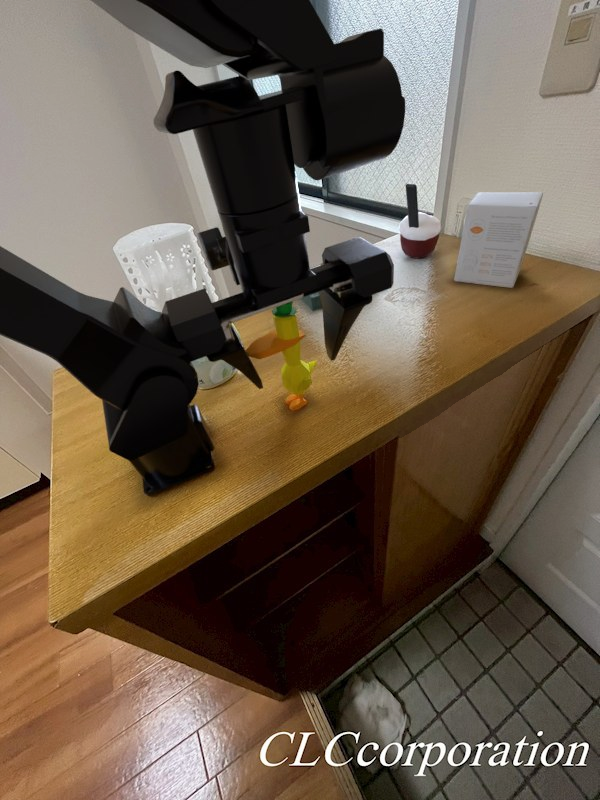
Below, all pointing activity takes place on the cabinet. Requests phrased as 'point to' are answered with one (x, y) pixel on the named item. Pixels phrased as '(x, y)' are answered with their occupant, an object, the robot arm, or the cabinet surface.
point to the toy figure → (286, 353)
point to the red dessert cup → (418, 228)
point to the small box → (496, 237)
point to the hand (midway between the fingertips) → (296, 371)
